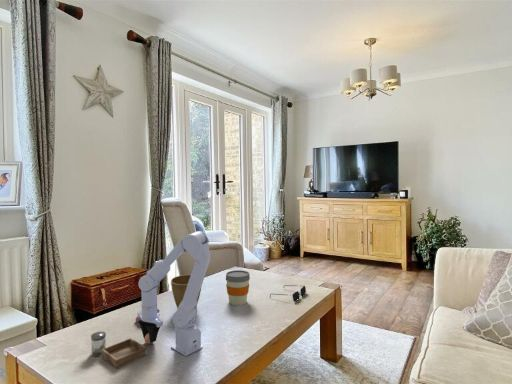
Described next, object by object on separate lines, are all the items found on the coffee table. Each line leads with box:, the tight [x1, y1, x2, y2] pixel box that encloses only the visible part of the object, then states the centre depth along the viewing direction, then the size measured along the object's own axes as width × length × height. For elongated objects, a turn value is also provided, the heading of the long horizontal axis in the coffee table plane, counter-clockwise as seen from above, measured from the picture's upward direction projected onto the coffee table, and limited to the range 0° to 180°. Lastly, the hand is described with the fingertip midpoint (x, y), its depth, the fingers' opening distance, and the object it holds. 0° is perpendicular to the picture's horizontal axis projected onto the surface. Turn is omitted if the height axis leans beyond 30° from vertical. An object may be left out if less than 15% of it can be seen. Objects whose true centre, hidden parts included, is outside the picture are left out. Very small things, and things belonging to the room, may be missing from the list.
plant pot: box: [170, 274, 202, 310], centre depth 154 cm, size 15×15×16 cm
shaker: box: [90, 331, 107, 358], centre depth 117 cm, size 5×5×7 cm
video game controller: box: [135, 307, 160, 324], centre depth 145 cm, size 10×5×7 cm, turn 143°
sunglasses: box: [269, 284, 307, 302], centre depth 176 cm, size 17×15×5 cm
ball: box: [144, 333, 153, 345], centre depth 124 cm, size 4×4×4 cm
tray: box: [101, 337, 147, 369], centre depth 115 cm, size 11×11×3 cm
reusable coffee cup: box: [225, 269, 251, 306], centre depth 166 cm, size 13×12×15 cm
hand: (149, 339), depth 124 cm, fingers closed on ball, 4 cm apart
